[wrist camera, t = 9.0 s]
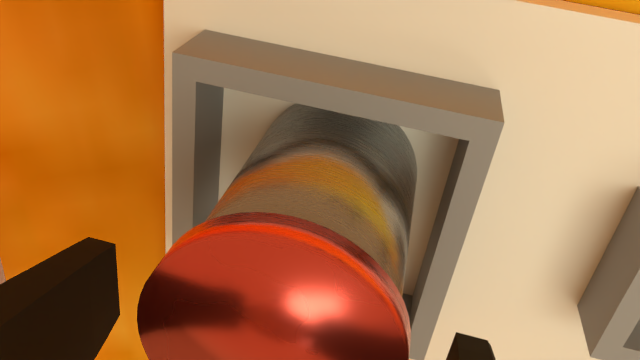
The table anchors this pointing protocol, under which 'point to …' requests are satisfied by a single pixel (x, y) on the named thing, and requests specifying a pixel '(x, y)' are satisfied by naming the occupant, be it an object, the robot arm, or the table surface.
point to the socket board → (444, 149)
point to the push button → (295, 251)
